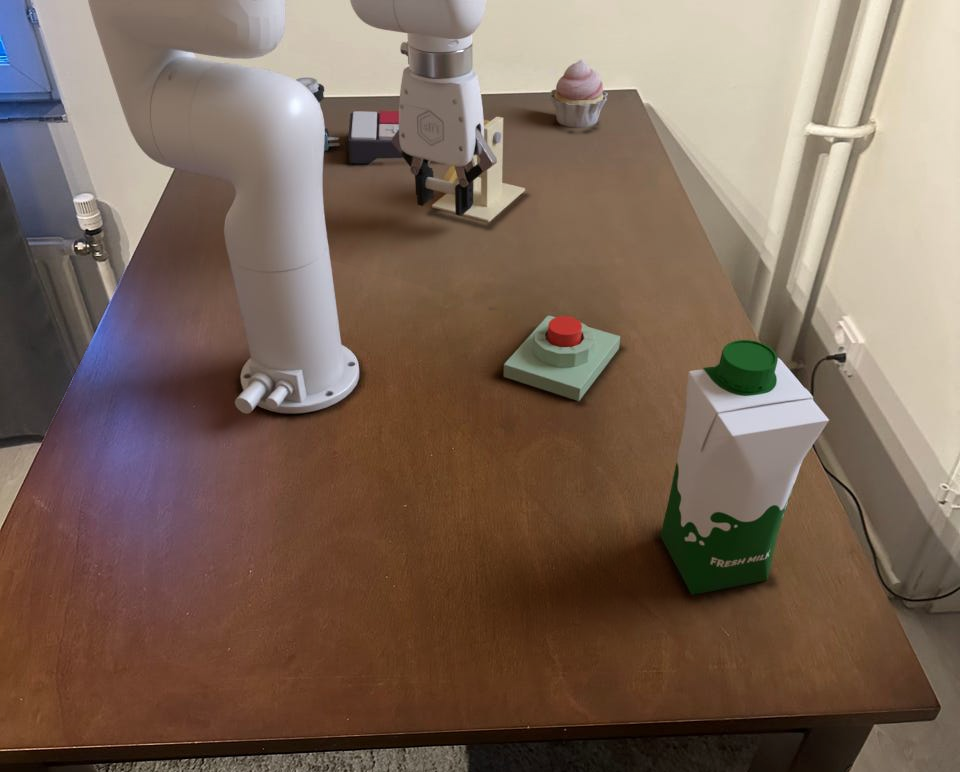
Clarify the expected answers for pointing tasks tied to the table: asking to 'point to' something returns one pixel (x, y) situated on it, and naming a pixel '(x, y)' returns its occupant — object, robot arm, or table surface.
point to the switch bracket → (487, 182)
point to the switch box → (562, 361)
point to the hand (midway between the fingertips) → (444, 205)
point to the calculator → (372, 136)
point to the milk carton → (737, 466)
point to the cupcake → (578, 96)
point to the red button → (564, 331)
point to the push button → (318, 93)
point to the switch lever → (445, 180)
